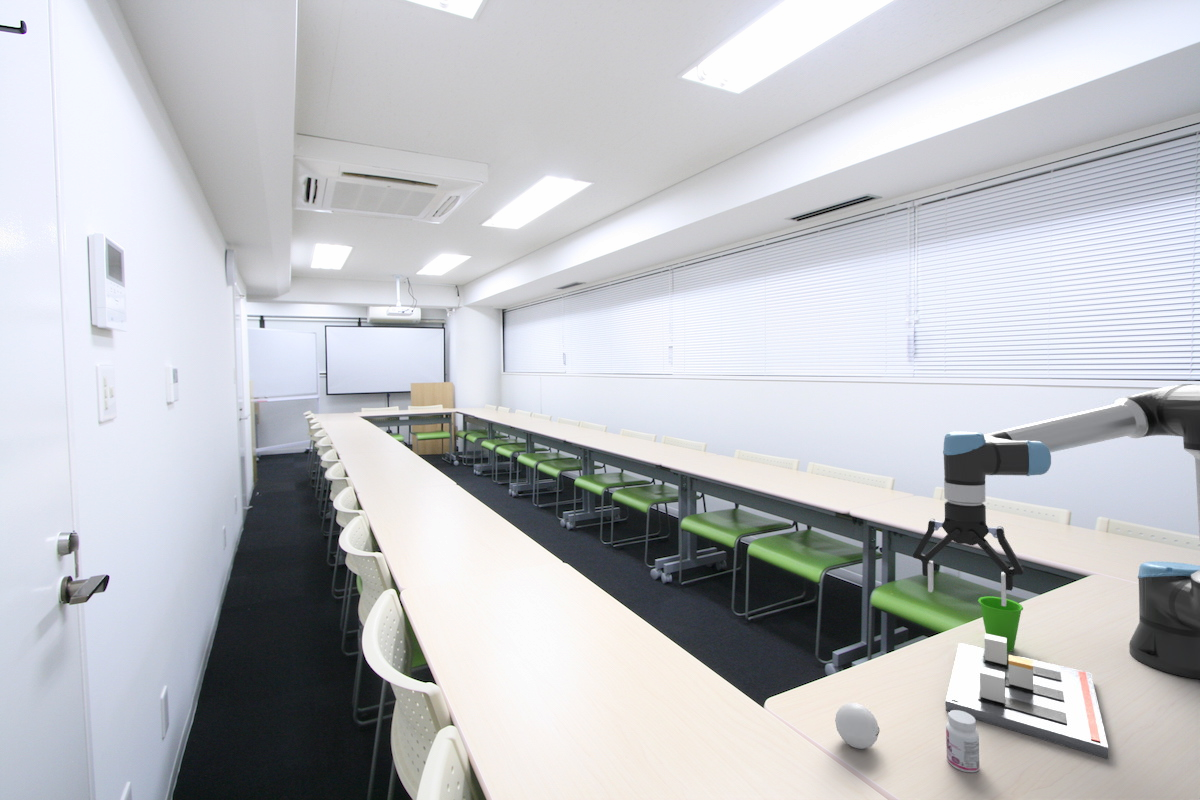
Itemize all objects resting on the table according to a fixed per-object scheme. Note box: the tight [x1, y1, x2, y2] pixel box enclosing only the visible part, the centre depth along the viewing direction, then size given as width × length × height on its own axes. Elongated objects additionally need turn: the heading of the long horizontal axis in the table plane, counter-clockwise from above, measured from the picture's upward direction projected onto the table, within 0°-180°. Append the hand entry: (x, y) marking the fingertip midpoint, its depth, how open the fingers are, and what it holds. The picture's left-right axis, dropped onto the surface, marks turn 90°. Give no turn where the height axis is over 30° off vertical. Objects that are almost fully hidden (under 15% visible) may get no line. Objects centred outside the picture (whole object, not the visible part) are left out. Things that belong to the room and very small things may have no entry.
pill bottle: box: [945, 710, 980, 773], centre depth 93 cm, size 5×5×8 cm
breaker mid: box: [1008, 654, 1034, 690], centre depth 112 cm, size 4×3×5 cm
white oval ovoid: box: [834, 702, 881, 750], centre depth 100 cm, size 10×7×7 cm
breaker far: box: [984, 632, 1008, 665], centre depth 122 cm, size 4×3×5 cm
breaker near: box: [980, 666, 1005, 703], centre depth 108 cm, size 4×3×5 cm
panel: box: [945, 642, 1109, 759], centre depth 112 cm, size 24×30×2 cm
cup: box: [977, 596, 1024, 653], centre depth 132 cm, size 9×9×11 cm
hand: (966, 597), depth 118 cm, fingers open, 13 cm apart
